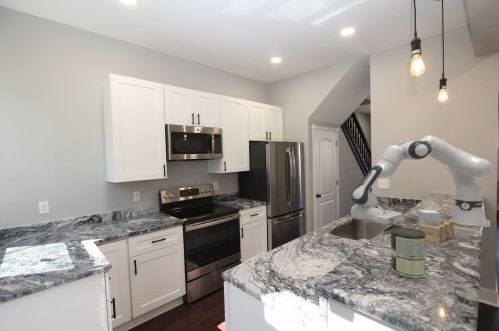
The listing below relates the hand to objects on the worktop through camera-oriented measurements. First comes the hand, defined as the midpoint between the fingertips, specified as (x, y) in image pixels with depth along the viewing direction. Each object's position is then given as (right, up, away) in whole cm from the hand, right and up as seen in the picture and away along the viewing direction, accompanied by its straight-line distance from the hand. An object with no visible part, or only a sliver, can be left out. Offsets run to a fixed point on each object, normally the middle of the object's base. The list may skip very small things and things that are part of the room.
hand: (404, 220), depth 136 cm
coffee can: (-28, -7, -48) cm, 57 cm away
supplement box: (+7, -6, -9) cm, 13 cm away
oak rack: (+9, -6, -11) cm, 16 cm away
